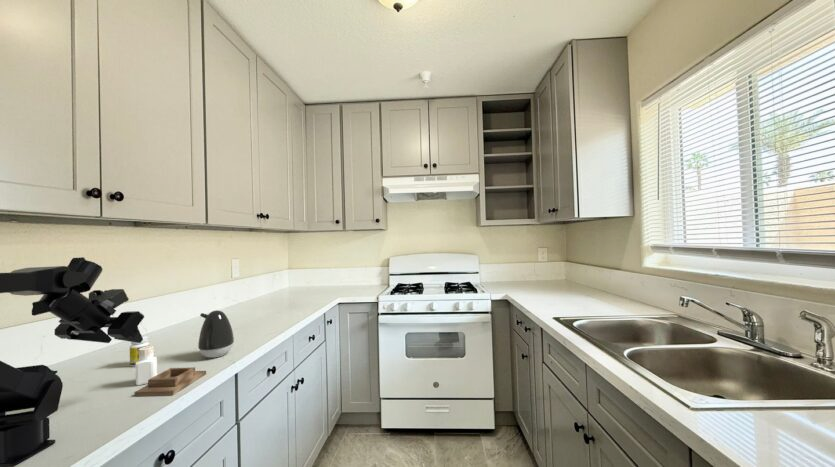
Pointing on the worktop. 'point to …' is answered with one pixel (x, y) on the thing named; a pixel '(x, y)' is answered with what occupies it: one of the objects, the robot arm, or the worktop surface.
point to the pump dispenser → (215, 335)
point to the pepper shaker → (146, 365)
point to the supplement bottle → (137, 350)
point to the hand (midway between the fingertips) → (125, 341)
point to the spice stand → (170, 382)
